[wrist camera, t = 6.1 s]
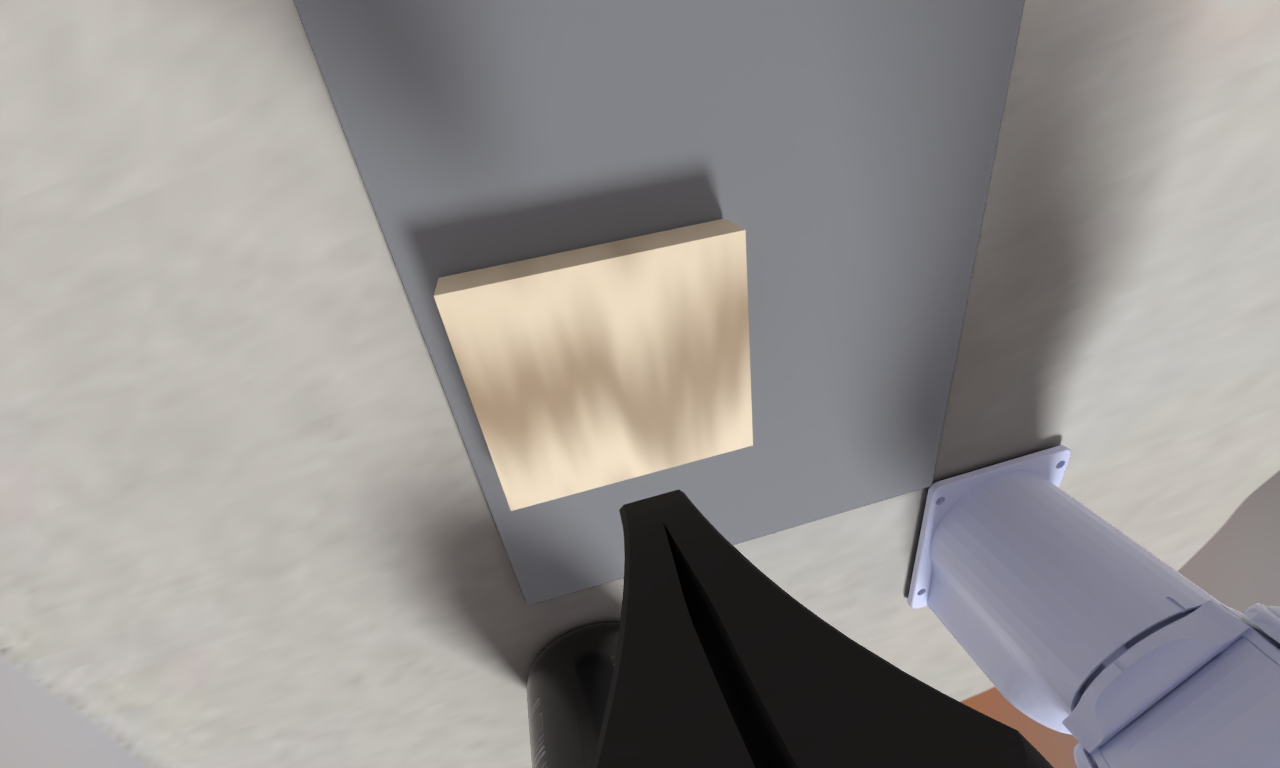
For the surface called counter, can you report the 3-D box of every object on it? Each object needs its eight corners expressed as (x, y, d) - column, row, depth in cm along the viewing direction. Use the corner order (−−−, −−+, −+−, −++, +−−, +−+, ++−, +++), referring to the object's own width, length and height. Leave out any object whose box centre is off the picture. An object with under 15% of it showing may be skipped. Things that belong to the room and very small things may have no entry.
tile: (753, 445, 20) (510, 511, 19) (734, 420, 21) (509, 479, 20) (745, 229, 16) (433, 295, 14) (723, 217, 17) (439, 276, 16)
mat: (926, 480, 27) (931, 486, 26) (527, 598, 24) (527, 606, 23) (1032, -102, 15) (1045, -106, 15) (296, -5, 12) (291, -7, 12)
